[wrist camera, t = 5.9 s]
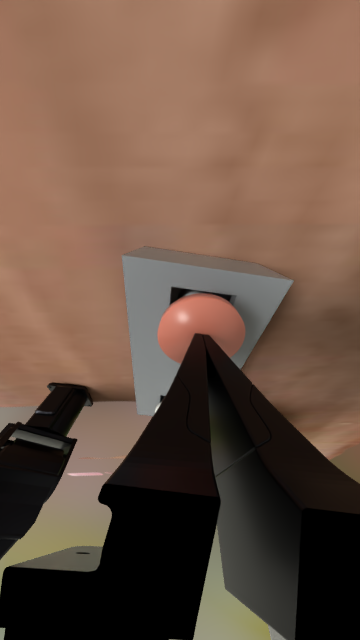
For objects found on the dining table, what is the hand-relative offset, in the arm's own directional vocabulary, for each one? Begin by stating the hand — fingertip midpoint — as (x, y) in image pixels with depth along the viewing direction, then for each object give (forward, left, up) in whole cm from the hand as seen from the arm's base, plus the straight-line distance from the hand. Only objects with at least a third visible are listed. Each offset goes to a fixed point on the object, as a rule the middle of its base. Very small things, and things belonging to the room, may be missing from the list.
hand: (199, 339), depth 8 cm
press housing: (-6, 0, -7) cm, 10 cm away
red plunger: (0, 0, -5) cm, 5 cm away
